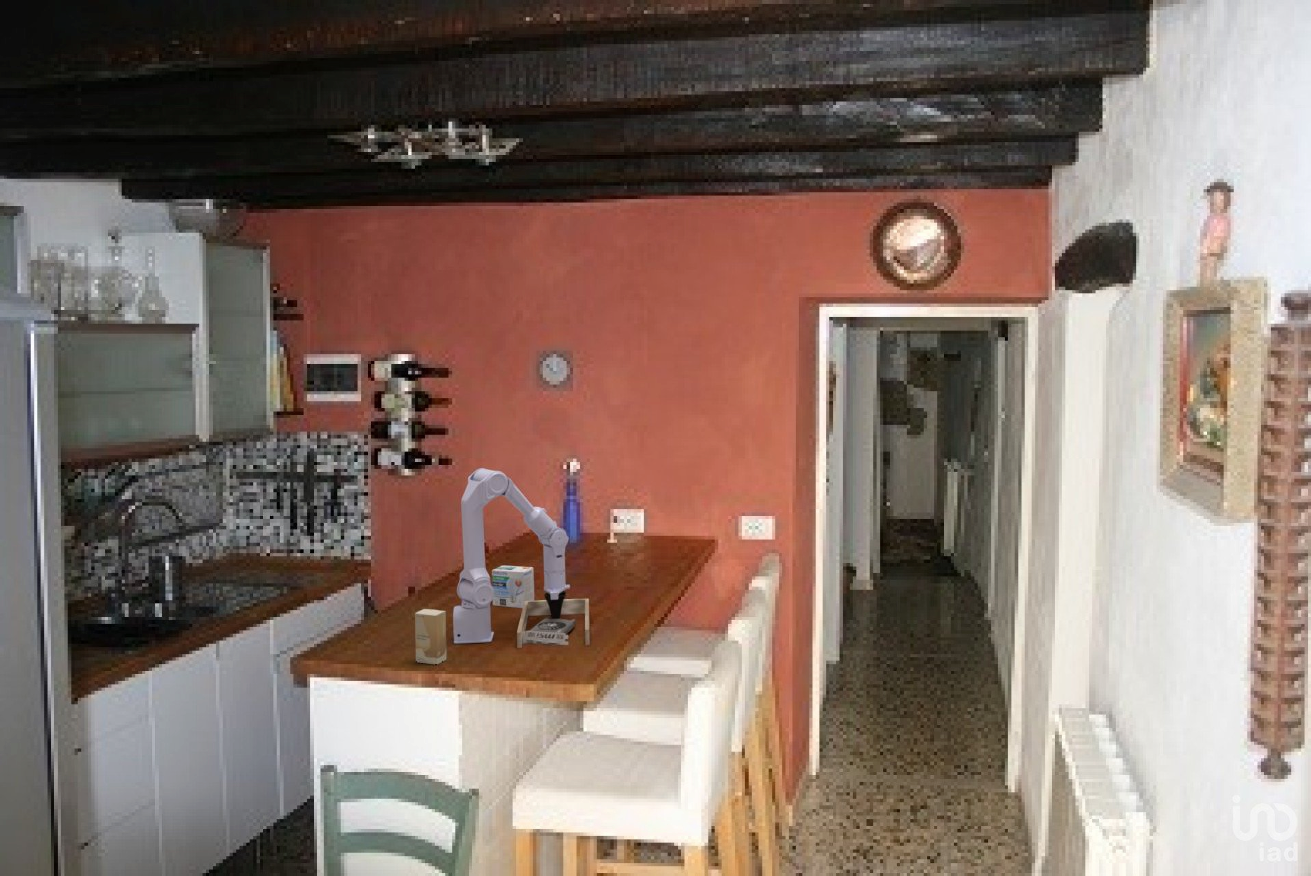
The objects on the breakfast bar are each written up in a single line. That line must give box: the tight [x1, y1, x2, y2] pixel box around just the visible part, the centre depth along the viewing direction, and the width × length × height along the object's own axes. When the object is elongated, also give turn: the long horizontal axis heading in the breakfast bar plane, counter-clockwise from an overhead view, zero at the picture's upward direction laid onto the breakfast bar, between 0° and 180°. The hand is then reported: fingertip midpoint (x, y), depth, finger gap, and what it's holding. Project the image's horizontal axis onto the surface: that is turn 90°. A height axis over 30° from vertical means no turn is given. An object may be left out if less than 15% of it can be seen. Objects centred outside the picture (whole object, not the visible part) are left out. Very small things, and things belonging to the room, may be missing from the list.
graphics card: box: [522, 616, 576, 646], centre depth 255 cm, size 17×4×12 cm
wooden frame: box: [516, 598, 591, 649], centre depth 261 cm, size 18×31×4 cm, turn 4°
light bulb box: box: [491, 564, 535, 609], centre depth 287 cm, size 11×7×11 cm, turn 70°
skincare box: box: [414, 608, 447, 665], centre depth 235 cm, size 6×4×12 cm
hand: (556, 619), depth 267 cm, fingers closed
